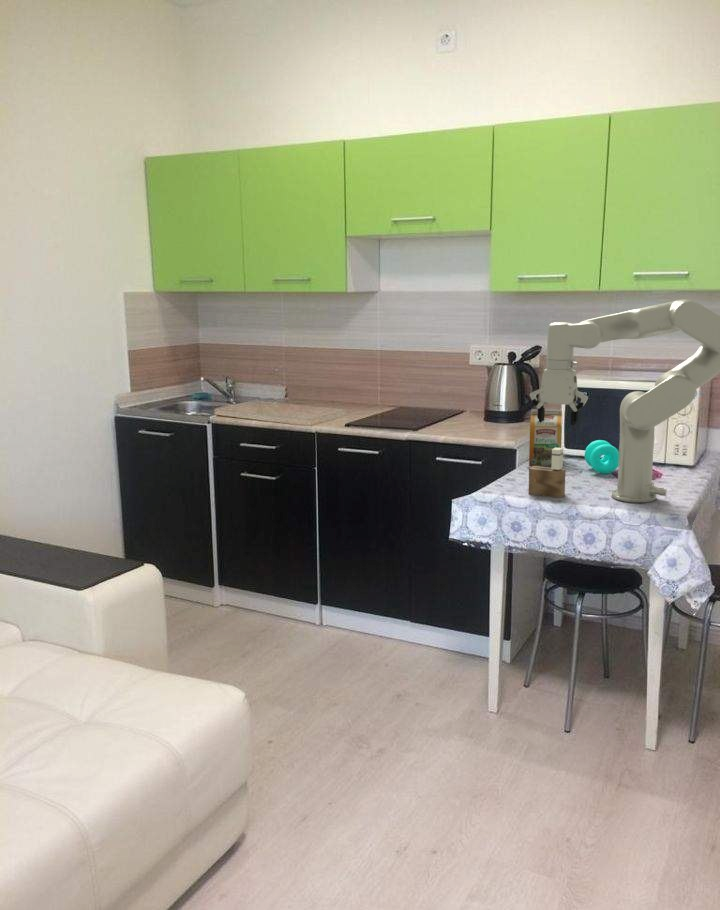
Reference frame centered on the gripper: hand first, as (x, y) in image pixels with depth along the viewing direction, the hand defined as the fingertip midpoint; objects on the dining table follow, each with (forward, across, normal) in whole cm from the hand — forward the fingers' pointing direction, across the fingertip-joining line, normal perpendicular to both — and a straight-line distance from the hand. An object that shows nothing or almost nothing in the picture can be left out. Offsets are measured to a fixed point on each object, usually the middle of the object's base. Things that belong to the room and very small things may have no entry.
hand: (557, 422), depth 236 cm
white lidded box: (+14, 0, 0) cm, 14 cm away
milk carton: (+23, +16, -40) cm, 49 cm away
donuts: (+22, -4, -36) cm, 43 cm away
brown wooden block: (+22, +2, 0) cm, 23 cm away
